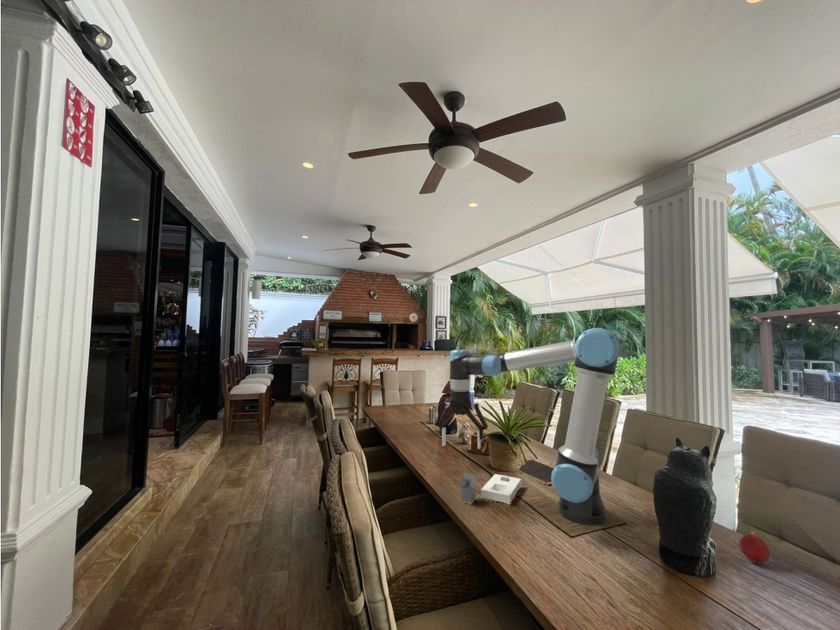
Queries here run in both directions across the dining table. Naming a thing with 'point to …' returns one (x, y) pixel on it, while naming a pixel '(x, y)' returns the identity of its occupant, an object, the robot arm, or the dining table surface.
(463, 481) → the plug
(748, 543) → the red oval piece
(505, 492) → the socket
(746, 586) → the dining table surface
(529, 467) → the hardcover book
